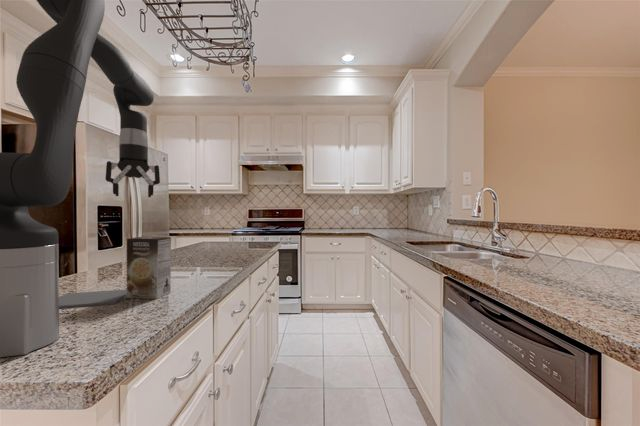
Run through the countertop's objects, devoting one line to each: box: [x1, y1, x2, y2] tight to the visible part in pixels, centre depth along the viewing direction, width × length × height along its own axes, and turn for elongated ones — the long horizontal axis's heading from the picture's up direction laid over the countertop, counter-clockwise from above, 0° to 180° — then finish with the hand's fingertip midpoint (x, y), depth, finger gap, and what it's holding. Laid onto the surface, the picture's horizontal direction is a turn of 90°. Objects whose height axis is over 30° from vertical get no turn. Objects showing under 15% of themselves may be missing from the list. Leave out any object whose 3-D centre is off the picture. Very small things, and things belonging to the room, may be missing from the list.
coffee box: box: [126, 235, 172, 300], centre depth 78 cm, size 9×6×16 cm
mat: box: [59, 288, 127, 309], centre depth 75 cm, size 12×16×1 cm
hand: (133, 196), depth 90 cm, fingers open, 8 cm apart
